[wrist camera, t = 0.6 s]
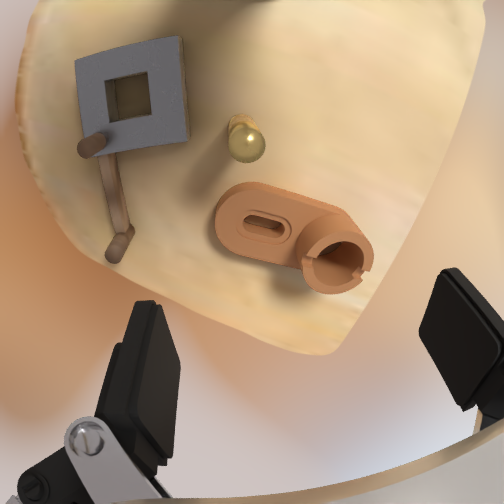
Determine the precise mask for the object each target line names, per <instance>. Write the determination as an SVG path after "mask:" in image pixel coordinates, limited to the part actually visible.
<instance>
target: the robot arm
mask: <svg viewBox="0 0 504 504" xmlns="http://www.w3.org/2000/svg"><path fill="white" fill-rule="evenodd" d="M419 337H420V339H421V340H422V342H423V344H424V345H425V347H426V349H427V350H428V352H429V354H430V356H431V357H432V359H433V361H434V363H435V365H436V367H437V368H438V370H439V372H440V374H441V376H442V377H443V379H444V381H445V383H446V385H447V387H448V388H449V391H450V392H451V394H452V396H453V398H454V400H455V402H456V404H457V405H459V406H461V409H462V411H463V412H464V411H466V410H468V409H470V408H473V407H474V406H475V404H477V406H478V411H477V417H476V422H475V426H474V431H473V435H472V436H470V437H468V438H466V439H464V440H462V441H460V442H458V443H456V444H453V445H451V446H449V447H447V448H444V449H442V450H440V451H438V452H435V453H433V454H430V455H428V456H425V457H423V458H421V459H418V460H415V461H412V462H410V463H407V464H404V465H401V466H398V467H395V468H393V469H389V470H386V471H383V472H380V473H376V474H373V475H370V476H366V477H362V478H359V479H354V480H350V481H346V482H342V483H338V484H333V485H328V486H323V487H318V488H313V489H307V490H301V491H294V492H288V493H279V494H270V495H260V496H248V497H233V498H179V499H178V498H173V497H172V496H171V495H170V494H169V493H168V491H167V490H166V489H165V488H164V487H163V485H162V484H161V483H160V482H159V481H158V480H157V478H156V477H155V475H157V467H158V465H159V466H167V458H172V456H173V448H174V435H175V421H176V410H177V400H178V389H179V379H180V369H181V367H180V360H179V357H178V354H177V351H176V348H175V346H174V343H173V339H172V336H171V334H170V330H169V328H168V324H167V321H166V319H165V315H164V312H163V309H162V306H161V305H160V304H159V305H156V302H155V301H154V300H147V301H136V302H135V305H134V307H133V310H132V313H131V316H130V319H129V322H128V326H127V329H126V332H125V335H124V338H123V342H122V343H117V344H116V345H115V347H114V349H113V352H112V356H111V359H110V362H109V365H108V368H107V372H106V376H105V379H104V382H103V386H102V389H101V393H100V396H99V400H98V404H97V408H96V411H95V415H94V417H91V416H90V417H82V418H80V419H77V420H76V421H74V422H73V423H72V424H71V425H70V426H69V427H68V429H67V431H66V433H65V436H64V445H65V446H64V447H63V448H61V449H60V450H58V451H56V452H55V453H53V454H52V455H50V456H49V457H47V458H45V459H44V460H42V461H41V462H39V463H38V464H36V465H34V466H33V467H31V468H29V469H28V470H26V471H25V472H24V473H23V474H22V475H21V476H20V478H19V480H18V485H17V492H18V495H17V496H16V497H15V496H14V495H12V496H11V498H10V499H9V500H8V501H7V503H6V504H504V321H503V320H502V319H501V317H500V316H499V315H498V314H497V312H496V311H495V310H494V309H493V308H492V306H491V305H490V304H489V303H488V301H487V300H486V299H485V298H484V297H483V296H482V295H481V293H480V292H479V291H478V290H477V289H476V288H475V287H474V285H473V284H472V283H471V282H470V281H469V280H468V279H467V278H466V277H465V276H464V275H463V274H462V273H461V271H460V270H459V269H457V268H450V269H444V270H442V271H441V272H440V274H439V275H438V276H437V279H436V282H435V285H434V288H433V291H432V294H431V297H430V300H429V303H428V306H427V309H426V311H425V314H424V317H423V320H422V322H421V325H420V327H419Z"/></svg>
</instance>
